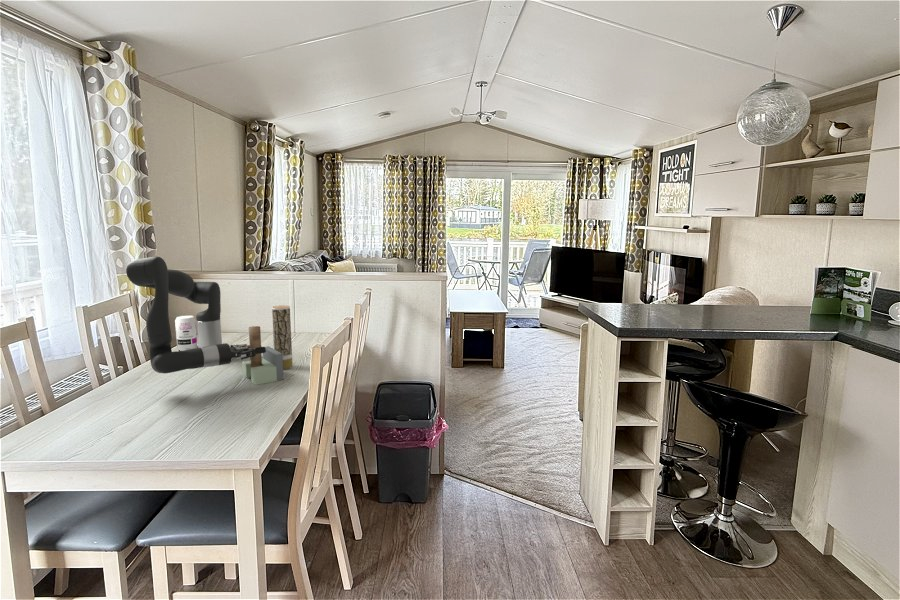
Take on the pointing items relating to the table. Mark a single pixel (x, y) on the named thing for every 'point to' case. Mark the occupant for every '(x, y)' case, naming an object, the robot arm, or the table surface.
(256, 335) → the brown banded cylinder
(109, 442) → the table surface
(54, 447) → the table surface
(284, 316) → the brown bark cylinder
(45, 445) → the table surface
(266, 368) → the cradle
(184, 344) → the supplement can
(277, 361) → the wall
